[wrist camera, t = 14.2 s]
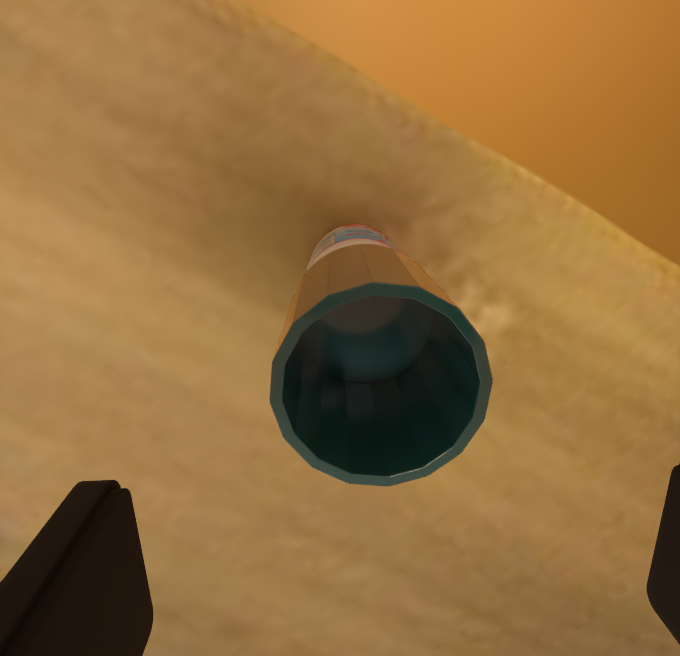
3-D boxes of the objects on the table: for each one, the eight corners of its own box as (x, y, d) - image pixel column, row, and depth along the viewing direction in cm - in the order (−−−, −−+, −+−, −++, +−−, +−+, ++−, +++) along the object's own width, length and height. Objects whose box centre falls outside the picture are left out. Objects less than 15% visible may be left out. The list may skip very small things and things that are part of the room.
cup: (265, 345, 23) (234, 432, 16) (334, 215, 21) (336, 241, 14) (390, 407, 24) (418, 516, 17) (466, 287, 23) (534, 349, 15)
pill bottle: (416, 259, 33) (456, 302, 23) (360, 328, 35) (373, 399, 24) (345, 203, 32) (351, 220, 22) (290, 276, 34) (271, 327, 23)
